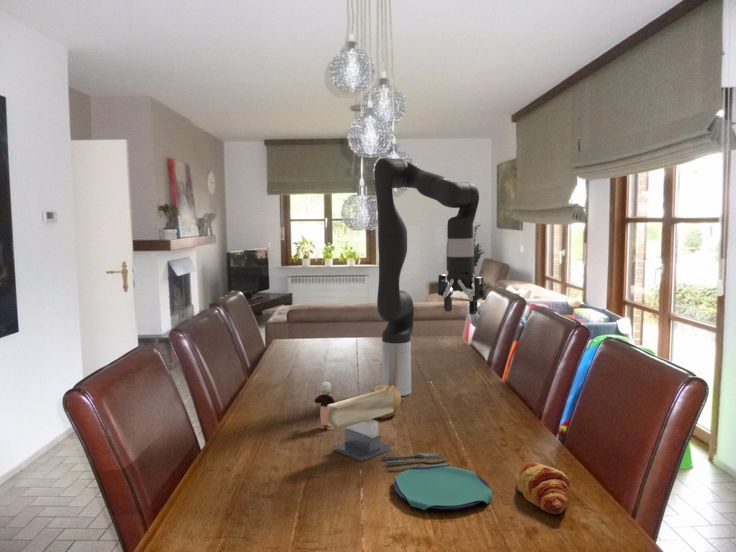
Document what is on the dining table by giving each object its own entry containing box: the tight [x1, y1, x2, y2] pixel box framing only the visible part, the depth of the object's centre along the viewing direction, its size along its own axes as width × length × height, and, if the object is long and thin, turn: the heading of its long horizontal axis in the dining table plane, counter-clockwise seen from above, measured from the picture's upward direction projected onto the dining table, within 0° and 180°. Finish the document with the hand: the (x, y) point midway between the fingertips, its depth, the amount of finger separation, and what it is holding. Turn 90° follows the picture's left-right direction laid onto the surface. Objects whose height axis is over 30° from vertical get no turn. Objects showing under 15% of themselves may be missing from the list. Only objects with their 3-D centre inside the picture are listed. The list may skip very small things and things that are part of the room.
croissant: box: [516, 462, 571, 515], centre depth 122 cm, size 21×10×8 cm, turn 0°
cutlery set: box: [381, 451, 494, 511], centre depth 129 cm, size 20×30×2 cm, turn 12°
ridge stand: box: [333, 419, 392, 462], centre depth 147 cm, size 10×10×8 cm
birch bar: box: [327, 389, 394, 430], centre depth 147 cm, size 4×18×5 cm, turn 132°
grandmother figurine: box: [313, 381, 336, 431], centre depth 164 cm, size 8×4×13 cm, turn 71°
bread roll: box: [369, 384, 402, 420], centre depth 176 cm, size 10×15×8 cm, turn 1°
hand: (460, 312), depth 168 cm, fingers open, 8 cm apart
